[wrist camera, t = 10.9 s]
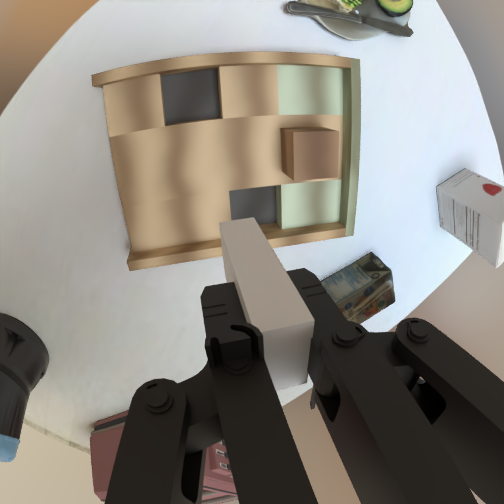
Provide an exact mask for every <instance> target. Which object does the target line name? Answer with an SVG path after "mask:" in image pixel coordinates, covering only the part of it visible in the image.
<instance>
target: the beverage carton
mask: <svg viewBox="0 0 504 504" xmlns="http://www.w3.org/2000/svg"><path fill="white" fill-rule="evenodd" d="M321 283H322V286H324V288H325V289H326V290H327V293H329V295H330V296H331V298H332V299H333V300H334V302H335V303H336V305H337V306H338V308H339V309H340V310H341V312H342V313H343V315H344V316H345V318H346V319H347V320H348V321H354V322H356V323H358V324H361V323H362V322H364V321H366V320H367V319H369V318H370V317H372V316H373V315H375V314H377V313H378V312H380V311H381V310H383V309H385V308H387V307H388V306H389V305H391V304H393V303H394V302H395V293H394V286H393V277H392V271H391V269H390V268H389V267H387V266H386V265H385V264H384V263H383V262H382V261H381V259H380V258H379V257H377V256H376V255H375V254H374V253H372V252H371V253H369V254H367V255H366V256H364V257H362V258H361V259H359V260H358V261H356V262H354V263H352V264H350V265H349V266H347V267H345V268H343V269H342V270H340V271H338V272H337V273H335V274H333V275H332V276H330V277H328V278H327V279H325V280H323V281H321Z"/></svg>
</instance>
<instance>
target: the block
mask: <svg viewBox="0 0 504 504" xmlns="http://www.w3.org/2000/svg"><path fill="white" fill-rule="evenodd" d="M280 132H281V164H282V172H283V173H284V174H285V175H287V176H288V177H289V178H291V179H292V180H293V181H301V180H312V179H325V178H338V164H339V131H336V130H332V129H329V128H325V127H293V128H280Z"/></svg>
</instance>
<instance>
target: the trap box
mask: <svg viewBox="0 0 504 504" xmlns="http://www.w3.org/2000/svg"><path fill="white" fill-rule="evenodd" d="M92 86H94V87H101V88H103V92H104V102H105V110H106V118H107V126H108V133H109V140H110V146H111V152H112V158H113V164H114V169H115V175H116V180H117V185H118V190H119V195H120V199H121V204H122V208H123V213H124V217H125V221H126V225H127V229H128V233H129V237H130V241H131V245H132V246H131V249H130V253H129V256H128V260H127V264H128V267H129V271H133V270H139V269H145V268H151V267H158V266H164V265H170V264H177V263H183V262H189V261H195V260H202V259H208V258H214V257H221V256H223V253H222V245H221V237H220V228H219V222H225V221H232V220H239V219H246V218H253V217H254V219H255V220H256V222H257V224H258V225H259V227H260V229H261V230H262V232H263V234H264V235H265V237H266V239H267V240H268V242H269V244H270V245H271V247H272V248H277V247H284V246H290V245H296V244H302V243H309V242H315V241H321V240H328V239H334V238H340V237H347V236H353V234H354V225H355V215H356V204H357V191H358V177H359V160H360V133H361V79H360V59H355V58H348V57H340V56H331V55H322V54H310V53H294V52H230V53H214V54H202V55H192V56H184V57H176V58H169V59H163V60H156V61H151V62H145V63H140V64H135V65H130V66H126V67H121V68H117V69H113V70H109V71H105V72H101V73H97V74H94V75H92ZM293 127H325V128H329V129H332V130H336V131H339V164H338V178H325V179H312V180H301V181H293V180H292V179H291V178H289V177H288V176H287V175H285V174H284V173H283V172H282V164H281V132H280V128H293Z"/></svg>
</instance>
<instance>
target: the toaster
mask: <svg viewBox="0 0 504 504" xmlns="http://www.w3.org/2000/svg"><path fill="white" fill-rule="evenodd" d="M128 411H129V410H128ZM128 411H126V412H123V413H120V414H117V415H114V416H112V417H109V418H106V419H103V420H100V421H97V422H96V423H95V430H94V431H93V432H92V433H91V435H92V436H91V437H90V449H91V464H92V476H93V486H94V493H95V494H96V495H97V496H98V497H99V498H100V500H101V501H103V502H105V499H106V495H107V490H108V486H109V482H110V478H111V474H112V470H113V466H114V462H115V458H116V454H117V450H118V446H119V443H120V439H121V435H122V432H123V428H124V425H125V421H126V418H127V415H128ZM237 499H238V496H237V492H236V488H235V484H234V480H233V476H232V472H231V468H230V464H229V459H228V455H227V450H226V446H225V441H224V440H222V441H220V442H218V443H216V444H214V445H211V446H209V447H207V452H206V462H205V471H204V481H203V492H202V502H201V504H220V503H224V502H229V501H233V500H237Z"/></svg>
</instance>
